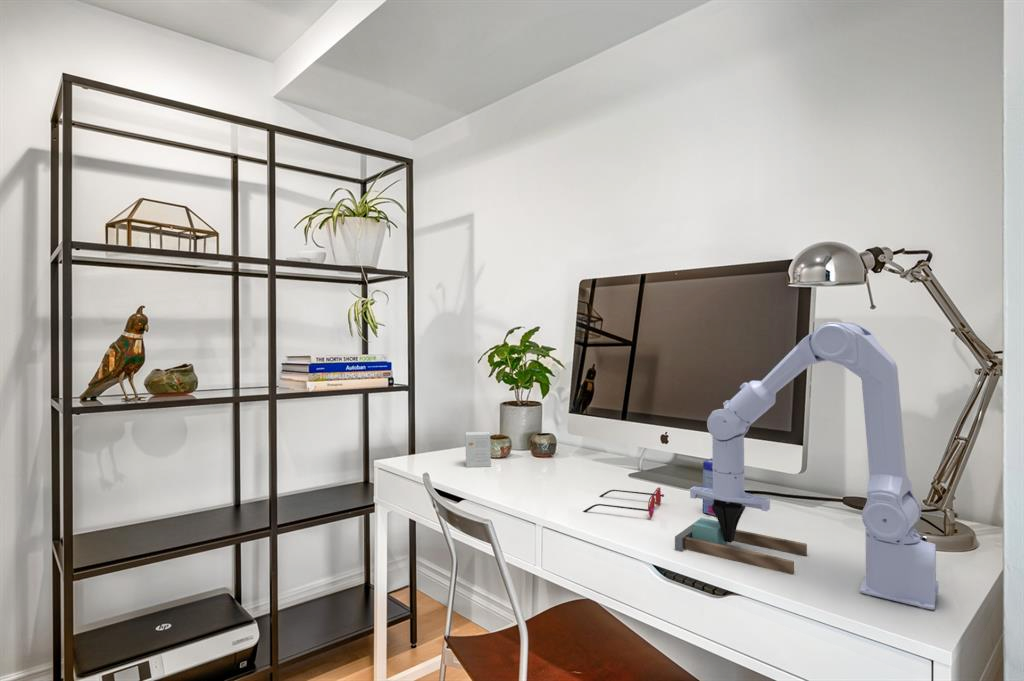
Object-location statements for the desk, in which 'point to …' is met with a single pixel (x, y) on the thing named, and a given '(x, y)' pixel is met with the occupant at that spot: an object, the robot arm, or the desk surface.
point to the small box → (478, 449)
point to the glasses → (650, 508)
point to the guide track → (750, 556)
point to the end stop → (682, 538)
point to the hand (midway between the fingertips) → (729, 540)
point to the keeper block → (707, 531)
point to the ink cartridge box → (708, 485)
